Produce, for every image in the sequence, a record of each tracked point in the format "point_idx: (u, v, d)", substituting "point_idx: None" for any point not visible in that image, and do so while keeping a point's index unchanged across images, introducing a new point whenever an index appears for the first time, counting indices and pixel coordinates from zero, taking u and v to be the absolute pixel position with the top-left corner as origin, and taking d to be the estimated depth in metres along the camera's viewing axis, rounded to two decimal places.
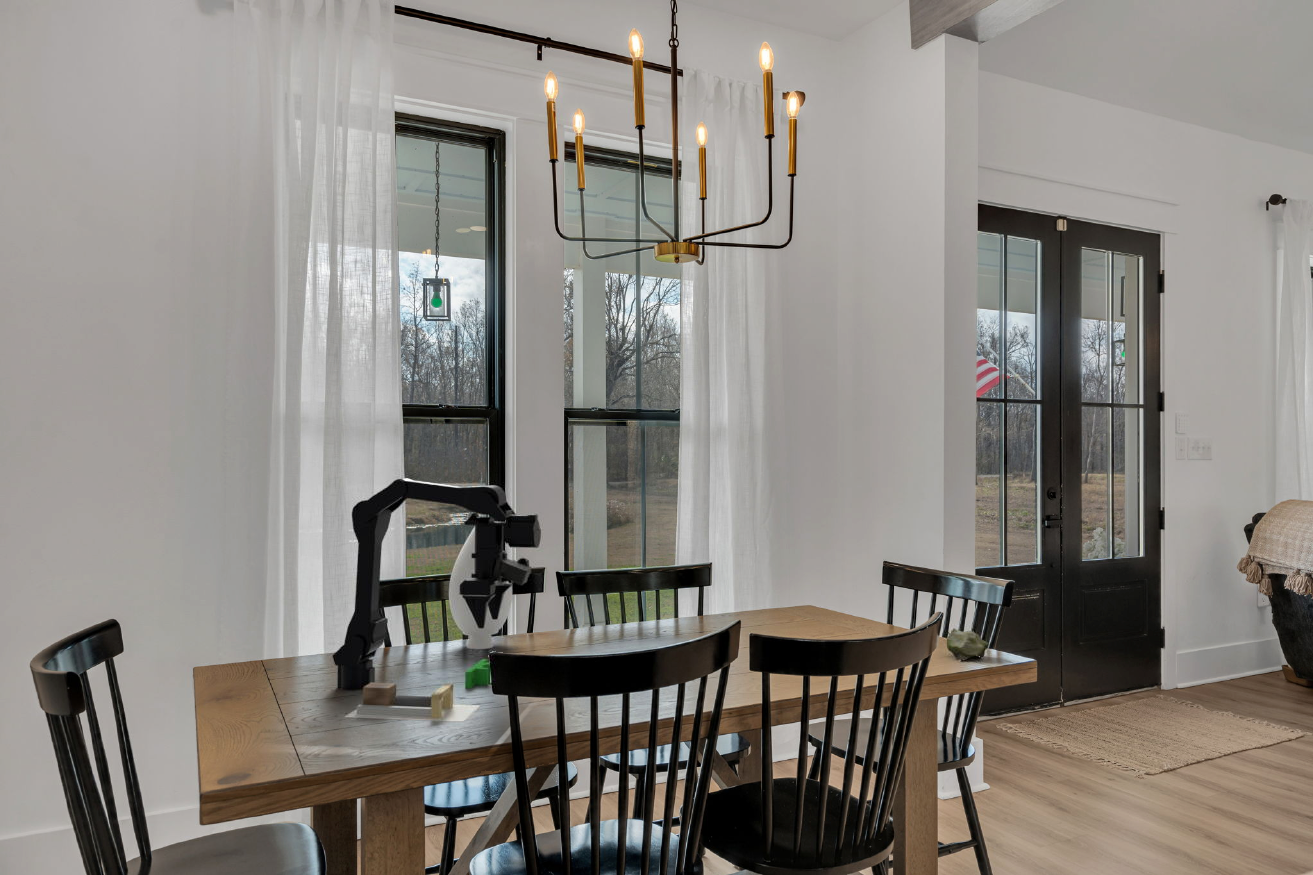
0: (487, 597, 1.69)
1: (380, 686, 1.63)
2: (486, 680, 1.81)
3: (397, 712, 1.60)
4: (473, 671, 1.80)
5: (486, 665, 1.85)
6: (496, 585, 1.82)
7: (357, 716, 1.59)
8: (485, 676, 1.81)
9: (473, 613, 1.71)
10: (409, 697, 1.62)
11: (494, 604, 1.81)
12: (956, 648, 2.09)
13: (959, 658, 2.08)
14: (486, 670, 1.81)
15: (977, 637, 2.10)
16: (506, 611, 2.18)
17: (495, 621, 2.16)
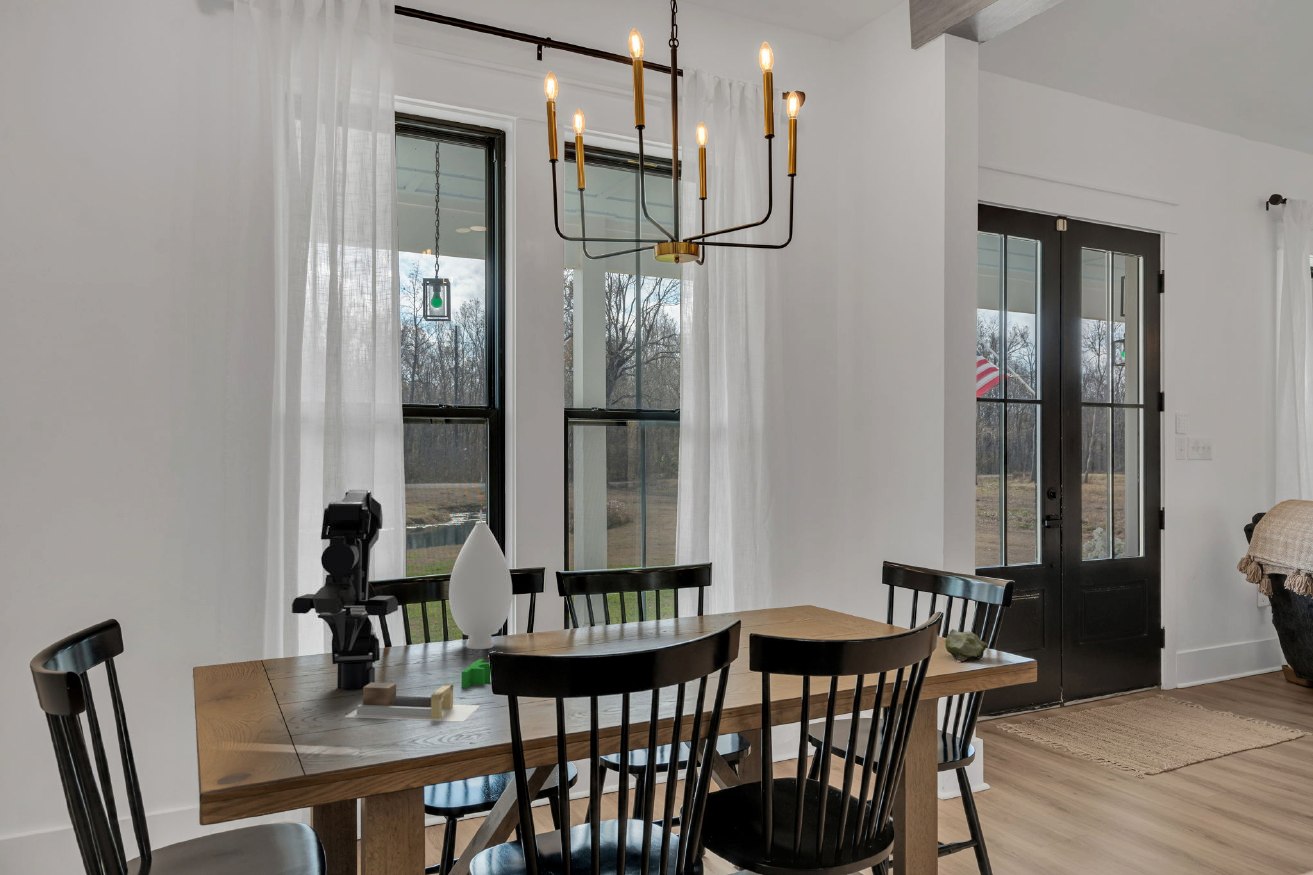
0: None
1: (380, 686, 1.63)
2: (482, 680, 1.81)
3: (397, 712, 1.60)
4: (469, 671, 1.80)
5: (482, 665, 1.85)
6: None
7: (357, 716, 1.59)
8: (482, 676, 1.81)
9: None
10: (407, 699, 1.61)
11: None
12: (955, 648, 2.08)
13: (958, 659, 2.07)
14: (482, 670, 1.81)
15: (976, 638, 2.10)
16: (506, 611, 2.18)
17: (495, 621, 2.16)
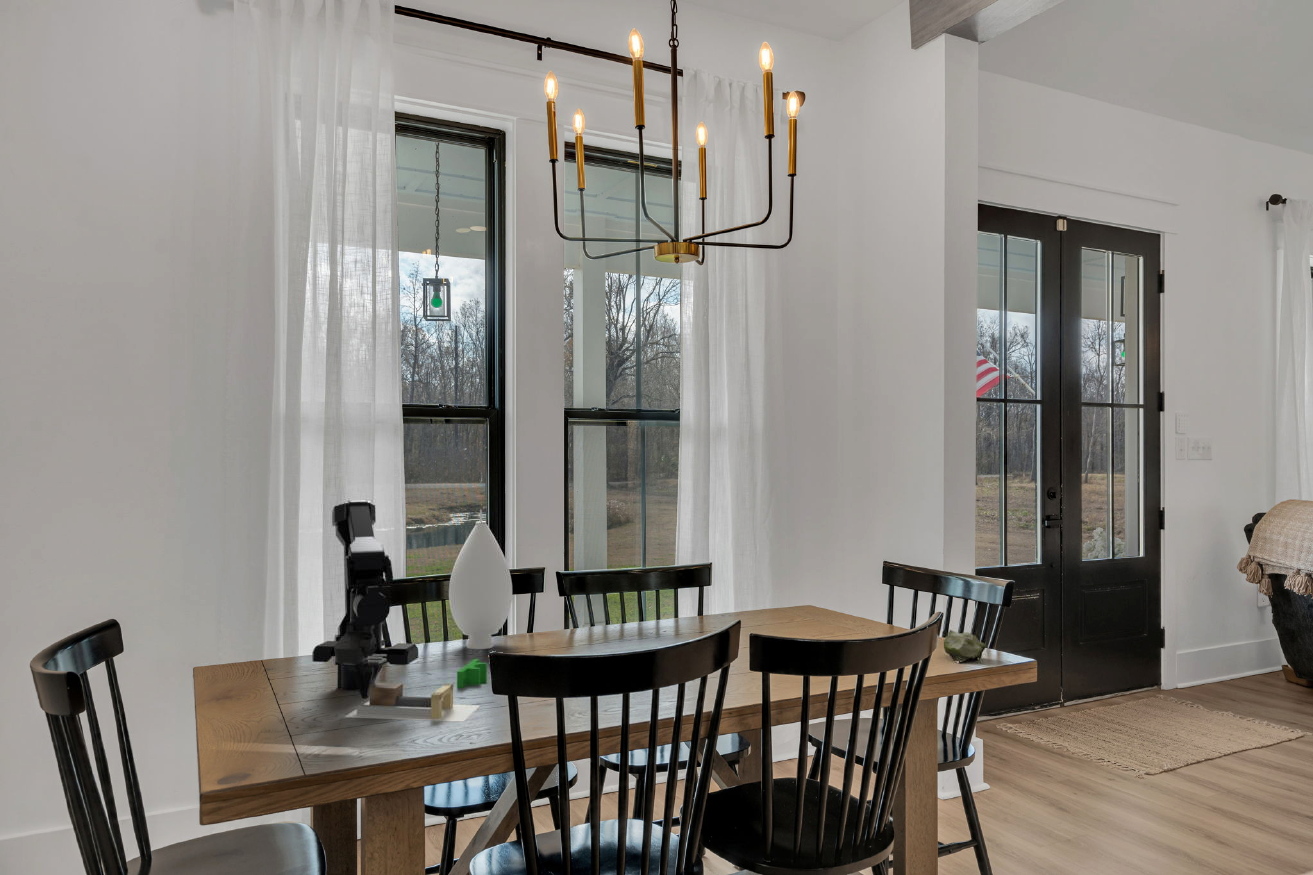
0: None
1: (387, 686, 1.62)
2: (478, 680, 1.81)
3: (397, 712, 1.60)
4: (465, 671, 1.81)
5: (478, 665, 1.85)
6: None
7: (357, 716, 1.59)
8: (477, 676, 1.81)
9: None
10: (408, 700, 1.61)
11: None
12: (953, 650, 2.07)
13: (957, 660, 2.06)
14: (478, 670, 1.81)
15: (974, 639, 2.09)
16: (506, 611, 2.18)
17: (495, 621, 2.16)
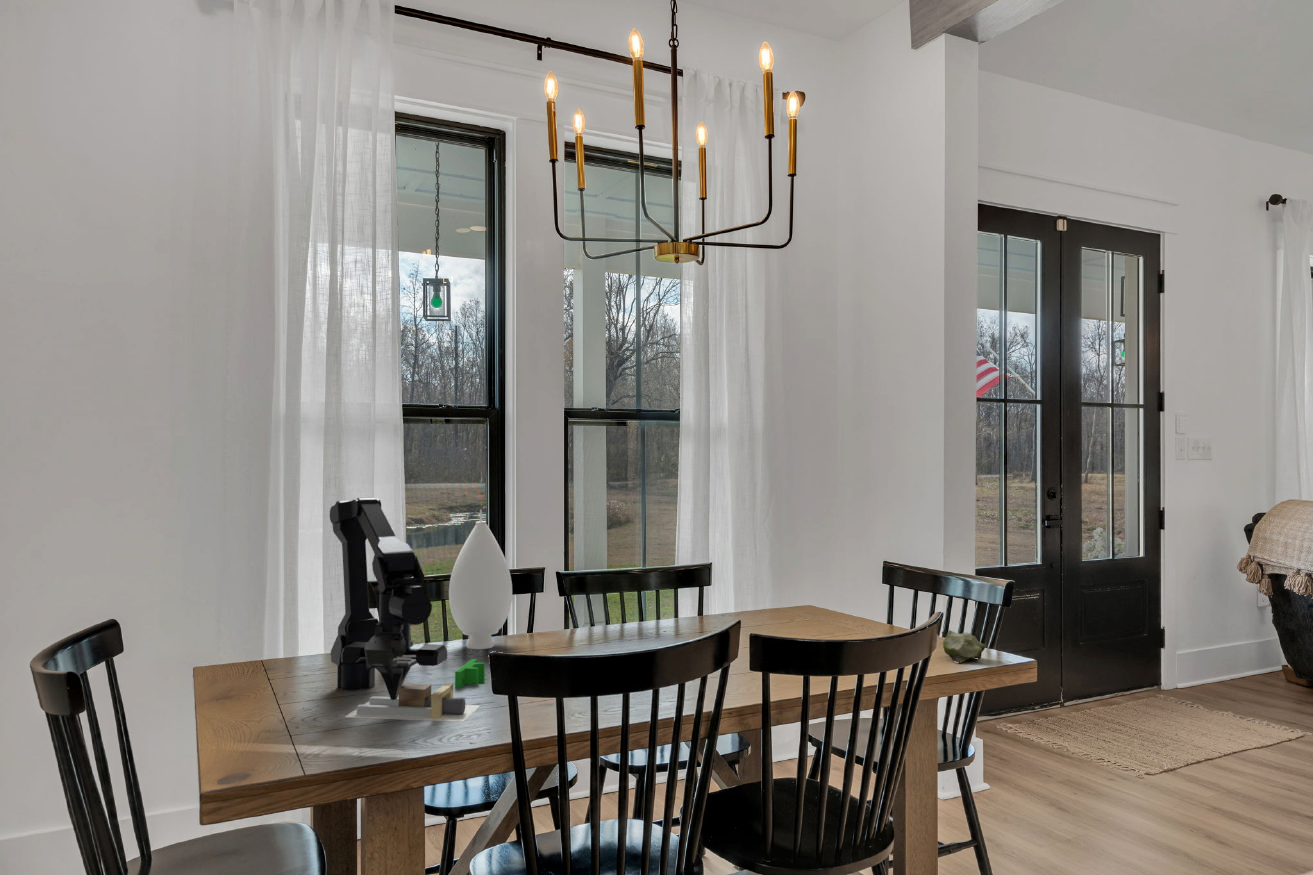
0: None
1: (416, 687, 1.62)
2: (476, 680, 1.81)
3: (397, 712, 1.60)
4: (463, 671, 1.81)
5: (476, 665, 1.85)
6: None
7: (357, 716, 1.59)
8: (475, 676, 1.81)
9: None
10: None
11: None
12: (953, 650, 2.07)
13: (956, 660, 2.06)
14: (476, 670, 1.81)
15: (974, 639, 2.08)
16: (506, 611, 2.18)
17: (495, 621, 2.16)
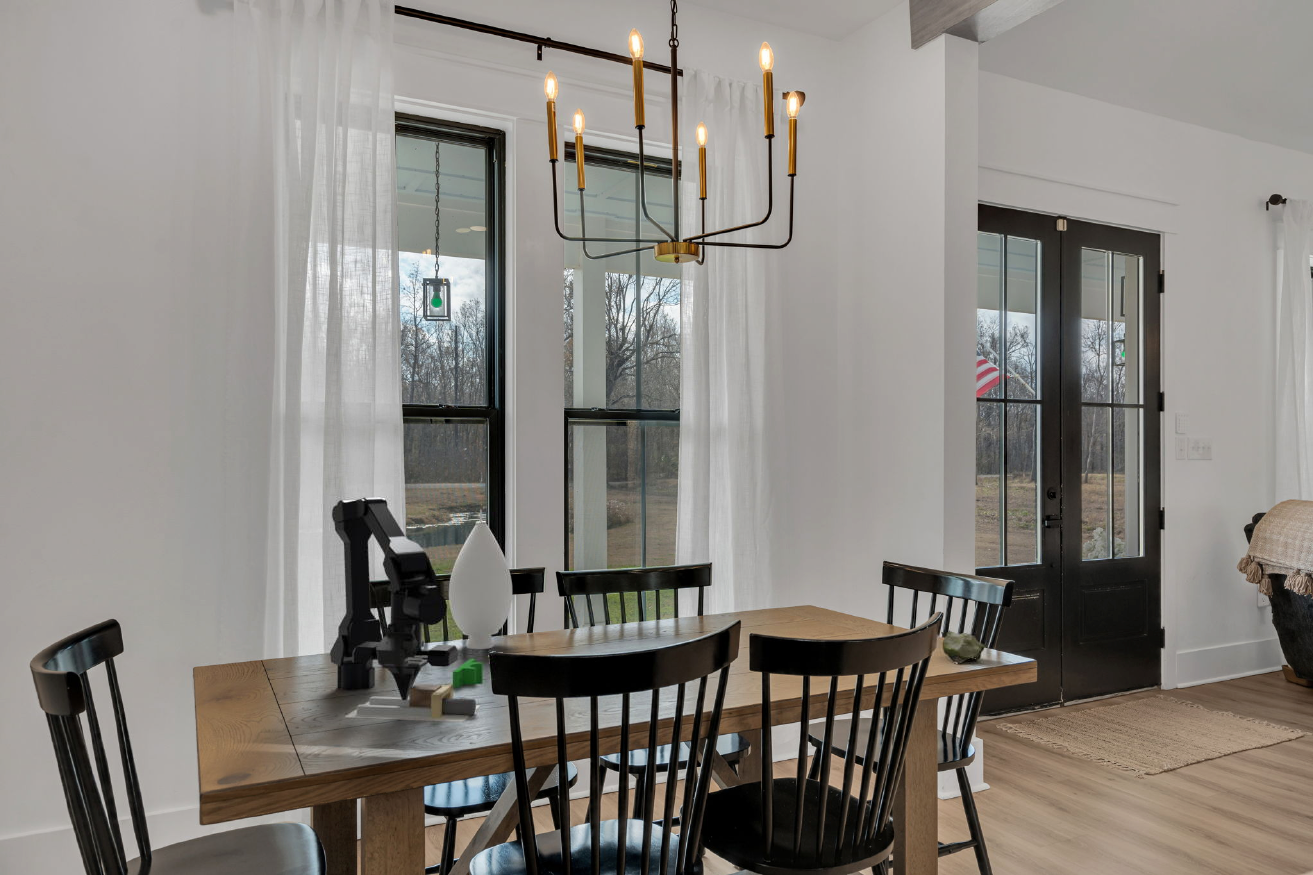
0: None
1: (426, 688, 1.62)
2: (474, 680, 1.82)
3: (397, 712, 1.60)
4: (461, 671, 1.81)
5: (474, 665, 1.85)
6: None
7: (357, 716, 1.59)
8: (473, 675, 1.81)
9: None
10: (448, 703, 1.60)
11: None
12: (952, 650, 2.06)
13: (956, 660, 2.06)
14: (474, 670, 1.82)
15: (973, 639, 2.08)
16: (506, 611, 2.18)
17: (495, 621, 2.16)
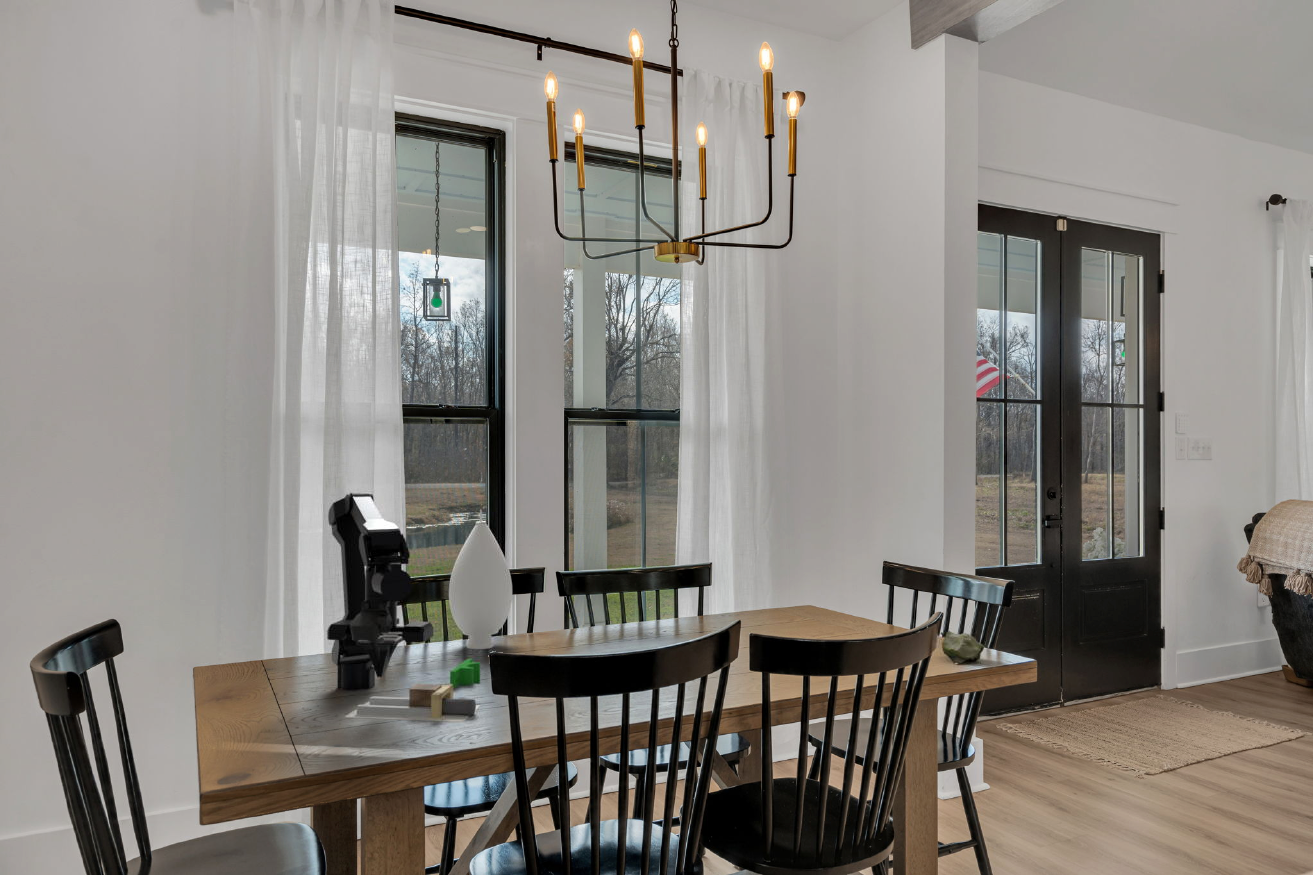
0: None
1: (426, 688, 1.62)
2: (471, 679, 1.82)
3: (397, 712, 1.60)
4: (458, 670, 1.81)
5: (471, 665, 1.85)
6: None
7: (357, 716, 1.59)
8: (470, 675, 1.82)
9: None
10: (448, 703, 1.60)
11: None
12: (952, 651, 2.06)
13: (955, 661, 2.05)
14: (471, 669, 1.82)
15: (973, 639, 2.07)
16: (506, 611, 2.18)
17: (495, 621, 2.16)
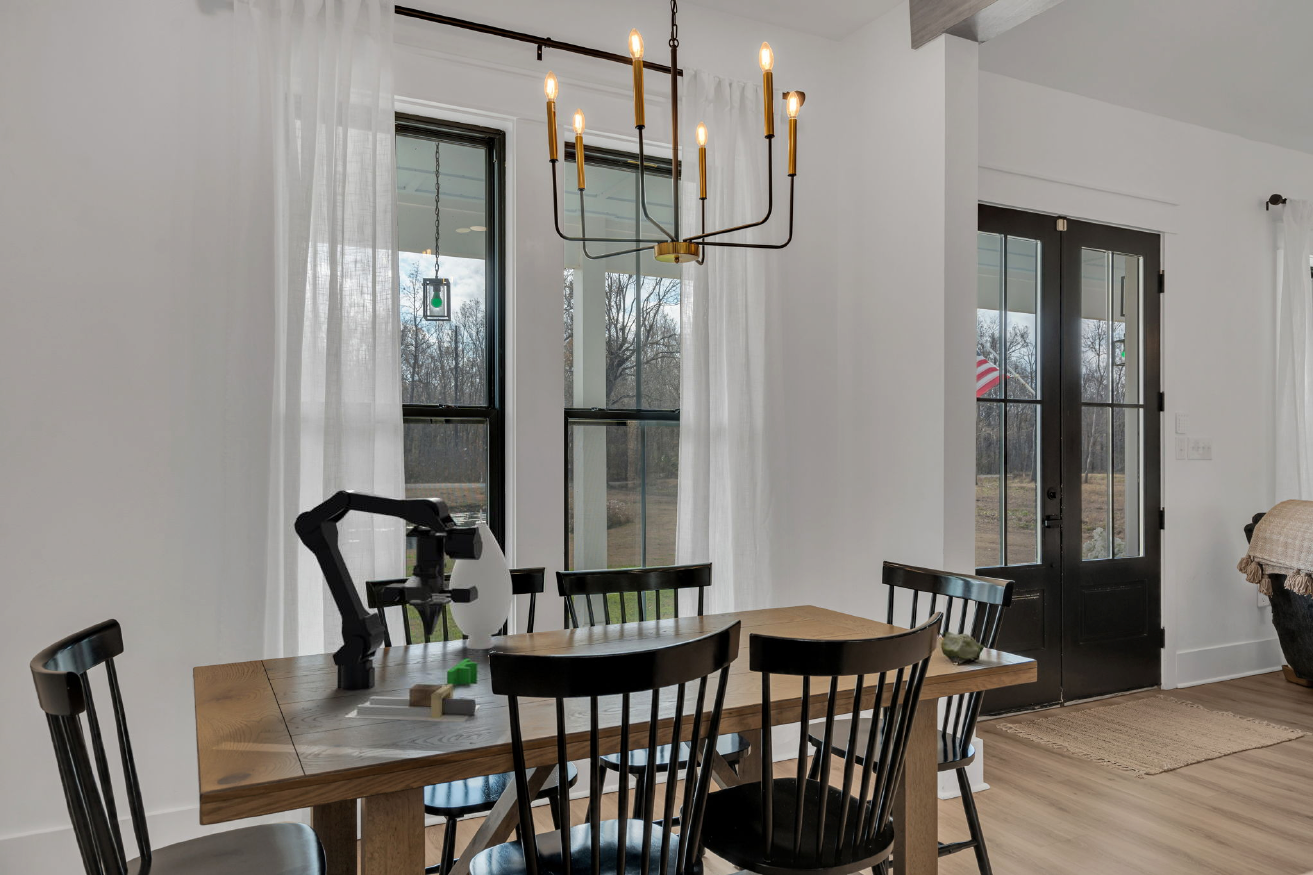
0: None
1: (426, 688, 1.62)
2: (468, 679, 1.82)
3: (397, 712, 1.60)
4: (455, 670, 1.81)
5: (468, 664, 1.86)
6: None
7: (357, 716, 1.59)
8: (467, 675, 1.82)
9: None
10: (448, 703, 1.60)
11: None
12: (951, 651, 2.05)
13: (955, 661, 2.05)
14: (468, 669, 1.82)
15: (972, 640, 2.07)
16: (506, 611, 2.18)
17: (495, 621, 2.16)
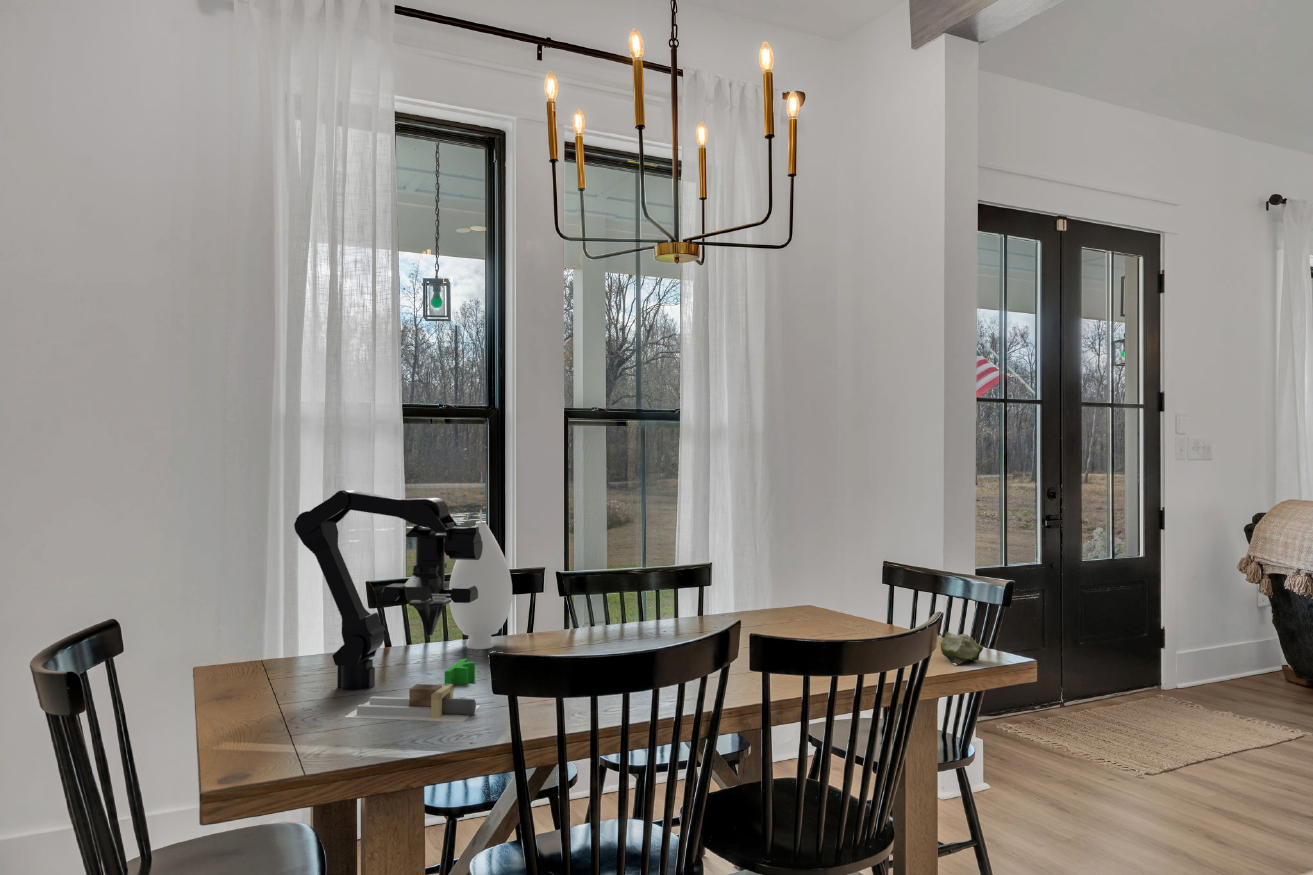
0: None
1: (426, 688, 1.62)
2: (466, 679, 1.82)
3: (397, 712, 1.60)
4: (452, 670, 1.81)
5: (466, 664, 1.86)
6: None
7: (357, 716, 1.59)
8: (465, 675, 1.82)
9: None
10: (448, 703, 1.60)
11: None
12: (951, 651, 2.05)
13: (954, 662, 2.04)
14: (466, 669, 1.82)
15: (971, 640, 2.07)
16: (506, 611, 2.18)
17: (495, 621, 2.16)
